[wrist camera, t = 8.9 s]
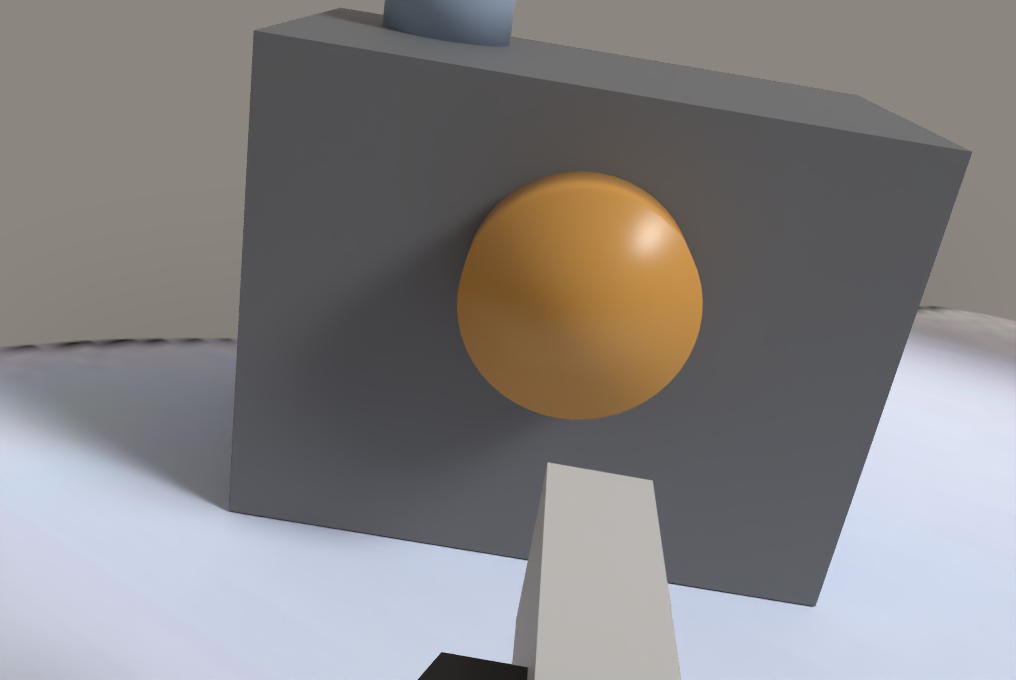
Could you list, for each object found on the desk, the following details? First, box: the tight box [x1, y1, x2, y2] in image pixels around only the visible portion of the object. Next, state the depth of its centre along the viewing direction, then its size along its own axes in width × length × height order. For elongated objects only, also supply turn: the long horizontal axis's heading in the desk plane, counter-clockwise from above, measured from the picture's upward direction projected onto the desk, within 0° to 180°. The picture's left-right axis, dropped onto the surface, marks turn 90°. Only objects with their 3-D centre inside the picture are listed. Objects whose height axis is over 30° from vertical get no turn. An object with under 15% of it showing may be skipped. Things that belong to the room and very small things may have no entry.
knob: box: [457, 171, 703, 420], centre depth 27 cm, size 6×8×6 cm
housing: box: [229, 8, 972, 606], centre depth 31 cm, size 18×10×14 cm, turn 87°
